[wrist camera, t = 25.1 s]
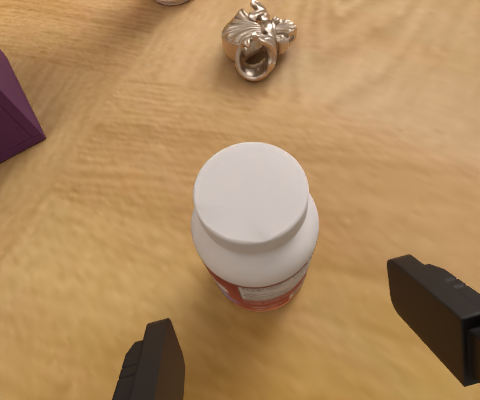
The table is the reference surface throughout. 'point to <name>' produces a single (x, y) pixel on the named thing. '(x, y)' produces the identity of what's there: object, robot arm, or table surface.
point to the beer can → (171, 2)
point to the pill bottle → (254, 224)
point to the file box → (15, 115)
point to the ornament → (256, 40)
